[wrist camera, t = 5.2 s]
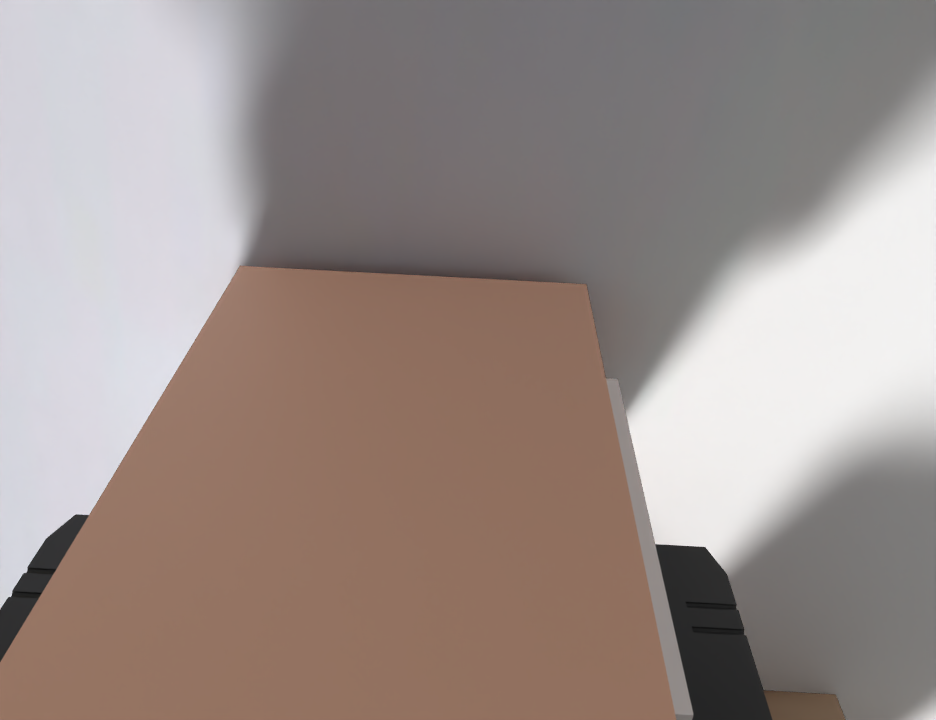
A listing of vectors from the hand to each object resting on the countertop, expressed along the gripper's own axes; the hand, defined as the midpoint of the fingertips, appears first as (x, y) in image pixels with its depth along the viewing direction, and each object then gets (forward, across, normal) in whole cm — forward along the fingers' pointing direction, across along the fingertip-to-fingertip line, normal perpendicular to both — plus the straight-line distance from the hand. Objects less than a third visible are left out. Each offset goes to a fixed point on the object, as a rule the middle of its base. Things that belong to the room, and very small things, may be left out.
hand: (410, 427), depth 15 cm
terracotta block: (0, 0, 0) cm, 0 cm away
